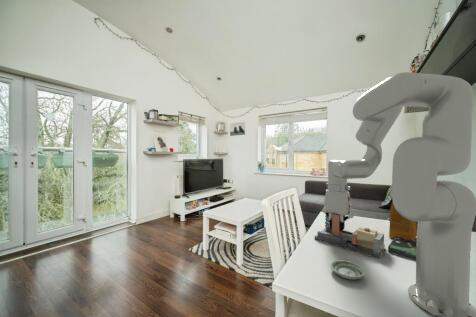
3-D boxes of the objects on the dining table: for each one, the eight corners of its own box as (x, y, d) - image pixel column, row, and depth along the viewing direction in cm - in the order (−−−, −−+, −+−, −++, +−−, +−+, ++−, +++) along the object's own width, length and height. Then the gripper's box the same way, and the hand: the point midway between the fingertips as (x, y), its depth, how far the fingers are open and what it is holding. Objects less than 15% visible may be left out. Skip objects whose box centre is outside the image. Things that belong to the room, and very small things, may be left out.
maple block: (374, 249, 77) (374, 232, 77) (356, 244, 81) (356, 228, 81) (377, 245, 80) (377, 228, 80) (360, 241, 85) (360, 225, 84)
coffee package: (421, 238, 91) (422, 190, 90) (413, 245, 84) (414, 193, 83) (395, 231, 99) (395, 187, 98) (385, 237, 92) (385, 189, 91)
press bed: (378, 258, 73) (378, 241, 73) (314, 238, 90) (314, 224, 90) (384, 248, 81) (384, 232, 81) (324, 232, 98) (324, 219, 98)
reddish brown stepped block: (355, 245, 80) (356, 220, 80) (330, 237, 87) (330, 214, 87) (360, 239, 85) (361, 216, 85) (336, 233, 92) (336, 211, 92)
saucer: (334, 263, 71) (334, 256, 71) (366, 273, 65) (367, 266, 64) (326, 276, 63) (326, 268, 63) (362, 289, 57) (362, 281, 57)
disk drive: (395, 242, 88) (387, 253, 78) (395, 236, 88) (387, 246, 78) (427, 250, 81) (423, 263, 71) (427, 243, 81) (423, 255, 71)
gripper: (360, 189, 85) (360, 231, 86) (322, 184, 97) (321, 222, 97) (355, 191, 80) (354, 237, 80) (315, 186, 92) (315, 226, 92)
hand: (336, 228), depth 89 cm, fingers closed on reddish brown stepped block, 3 cm apart
